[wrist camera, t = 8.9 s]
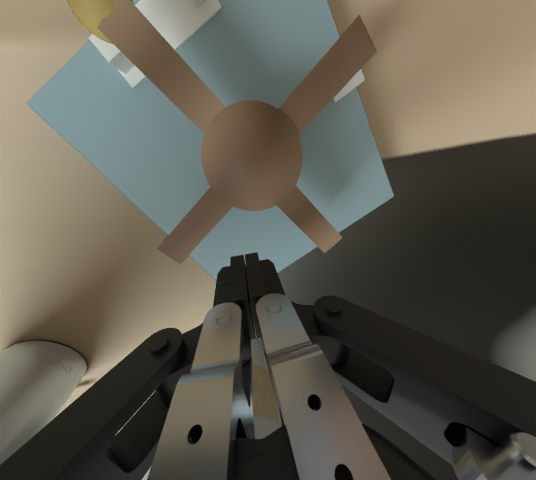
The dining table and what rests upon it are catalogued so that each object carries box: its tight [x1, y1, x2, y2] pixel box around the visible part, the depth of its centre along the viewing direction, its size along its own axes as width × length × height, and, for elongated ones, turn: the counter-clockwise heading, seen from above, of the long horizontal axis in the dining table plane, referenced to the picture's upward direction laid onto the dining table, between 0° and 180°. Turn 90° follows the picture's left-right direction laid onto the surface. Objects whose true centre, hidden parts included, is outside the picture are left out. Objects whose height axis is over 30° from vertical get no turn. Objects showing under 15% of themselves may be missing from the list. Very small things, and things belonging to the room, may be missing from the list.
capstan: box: [66, 0, 377, 264], centre depth 13 cm, size 19×17×5 cm
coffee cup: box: [251, 338, 280, 439], centre depth 22 cm, size 9×9×15 cm
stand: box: [26, 0, 394, 281], centre depth 16 cm, size 21×22×5 cm
